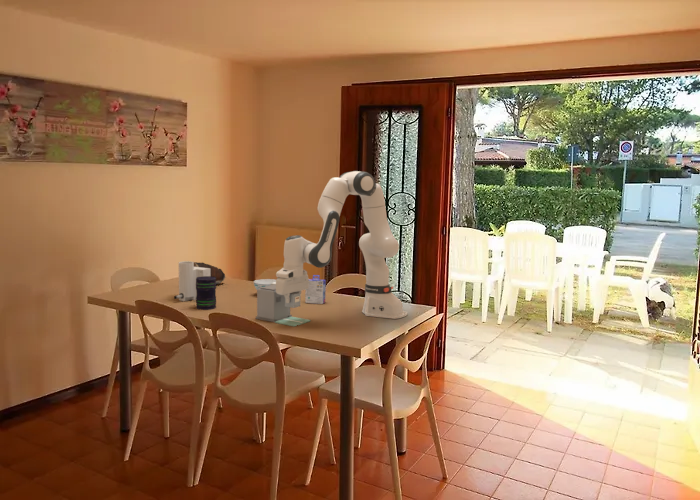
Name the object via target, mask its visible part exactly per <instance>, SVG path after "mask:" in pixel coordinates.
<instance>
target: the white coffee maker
mask: <svg viewBox="0 0 700 500" xmlns="http://www.w3.org/2000/svg"><path fill="white" fill-rule="evenodd" d="M194 262H195V261H190V260H187V261H186V260H185V261H179V262H178V295H174V297H173V298H174V300H177V299H178V301H180V302H187V301H196V297H197V290H196V278H197V277H203V276H211V275H210V268H201V267H194Z"/></svg>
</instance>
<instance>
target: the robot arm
mask: <svg viewBox="0 0 700 500" xmlns="http://www.w3.org/2000/svg"><path fill="white" fill-rule="evenodd" d="M349 195H353V196H359V197H360V199H361V207H362V217H363V223H364V225H365V226H366V228H367V229H368V231H369V232H367V233H364V234H363V235H362V234H361V235H362V236H361V237H360V238H359V241H358V246H359V249H360V250H361V253H362V255H363V258H364V262H365V263H364V264H365V270H366V271H365V275H366V277H365V281H366V282H365V285H364V294H365V296H364V302H363V307H362V310H361V313H362V314H364V315H365V316H366V317H367V316H368V317H375V318H376V317H377V318H384V319H392V320H395V319H401V318H404V317H407V316H408V315H409V314H408V311H404V307H403V305H404V304H403V302H402V301H401V299H399V298H398V297H397V295H395V294H393V292H392V290H394V286H391V285H390V284H389V283H390V282H389V281H390V279H389V278H390V269H389V266H388V265H387V263H386V260H385V259H388V258H393V257H395V256H396V255H397V254H398V252H399V249H400V244H399V242H398V240H397V239H396V238H395V236H394V234H393V233H392V232H393V231H392V229H391V228H390V224H389V222H388V217H387V210H386V209H387V208H386V202H385V201H386V199H385V196H384V192H383V189H382V187H381V185H380V183H376V180H375V178H374V176H373V175H372V174H371V173H369V172H367V171H360V170H359V171H358V170H353V171H346V172H344V173H341V175H339V177H337V176H336V177H334V176H333V177H331V178H330V179H329V180H328V182H327V184H326V185H325V187H324V189H323V191H322V192H321V195H320V198H319V200H318V202H317V203H318V204H317V212H318V215H319V216H320V217H321V219H322V220H323V227H322V230H321V233H320V237H319V239H318V240H319V241H318V242H317V243H315V242H312V241H310V240H309V239H306V238H304V237H303V236H302V235H297V234H296V235H290V236H288V237H286V239H285V240H284V243H283V244H284V245H283V258H284V260H283V261H284V262H283V267H281V269H279V270H278V271H277V272H276V273H275V276H276V279H275V280H276V293H277V294H279V295H284V296H285V299H286V303H291V299H290V298H289V296H290V293H293V292H298V293H301V294H302V291H306V289H308V287H309V279H310V278H309V275H308V271H307V270H306V269H304V264H305V263H307V264H309V265H312V266H314V267H316V268H318V269H319V268H325V267H326V266H328V265H329V263H330V262H331V260H332V256H333V253H332V252H333V245H334V242H335V239H336V235H337V231H338V229H339V224H340V218H341V217H340V216H341V213H342V209H343V206H344V204H345V202H346V199H347V197H348V196H349Z"/></svg>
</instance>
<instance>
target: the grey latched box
mask: <svg viewBox="0 0 700 500" xmlns="http://www.w3.org/2000/svg"><path fill="white" fill-rule="evenodd" d="M256 296H257V297H256V316H255V319H256V320H260V321H261V320H262V321H264V322H265V321H266V322H271V323H275V321H278V320H282V319H285V318H288V317H293V315H292V314H291V307H285V296H284V295H279V294H277V293H276V285H270V286H265V287H261V288H259V289H257V290H256Z"/></svg>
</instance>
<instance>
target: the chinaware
mask: <svg viewBox="0 0 700 500" xmlns="http://www.w3.org/2000/svg"><path fill="white" fill-rule="evenodd" d="M273 282H276V279H274V278H273V279H272V278H271V279H270V278H266V279H265V278H264V279H263V278H262V279H256V280H253V286H254V288H255V289H256V291H257V289H259V288H261V287H265V286H270V285H271V283H273Z"/></svg>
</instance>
